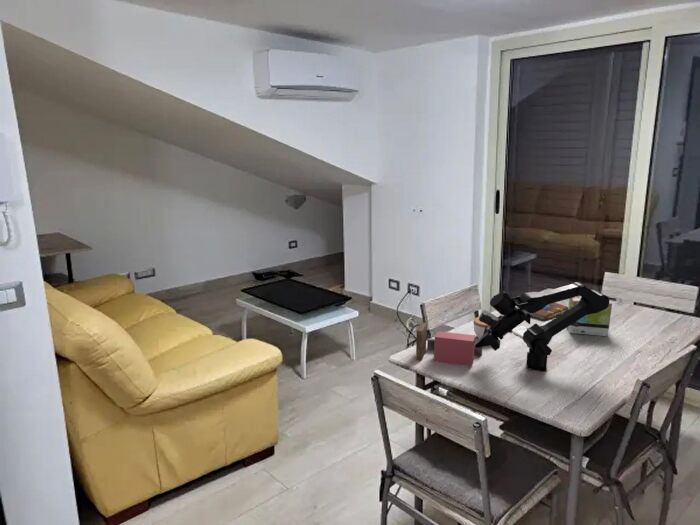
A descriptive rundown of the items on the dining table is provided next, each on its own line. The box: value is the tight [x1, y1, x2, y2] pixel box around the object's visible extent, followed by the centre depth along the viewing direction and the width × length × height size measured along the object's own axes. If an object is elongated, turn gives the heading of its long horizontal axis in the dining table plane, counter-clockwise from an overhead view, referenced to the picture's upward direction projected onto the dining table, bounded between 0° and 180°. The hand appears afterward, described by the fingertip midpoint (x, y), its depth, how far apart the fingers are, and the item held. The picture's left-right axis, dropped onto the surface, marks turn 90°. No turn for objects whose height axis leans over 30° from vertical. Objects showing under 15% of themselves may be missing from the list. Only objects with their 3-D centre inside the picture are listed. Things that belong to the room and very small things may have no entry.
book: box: [516, 302, 568, 321], centre depth 246 cm, size 16×25×5 cm, turn 127°
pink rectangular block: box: [433, 330, 476, 367], centre depth 192 cm, size 14×6×10 cm, turn 71°
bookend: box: [415, 322, 483, 362], centre depth 195 cm, size 23×13×12 cm, turn 71°
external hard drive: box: [511, 325, 528, 339], centre depth 218 cm, size 2×8×12 cm
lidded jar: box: [473, 316, 489, 340], centre depth 213 cm, size 11×11×9 cm
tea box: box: [567, 296, 613, 337], centre depth 219 cm, size 15×10×15 cm, turn 76°
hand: (475, 346), depth 189 cm, fingers closed
